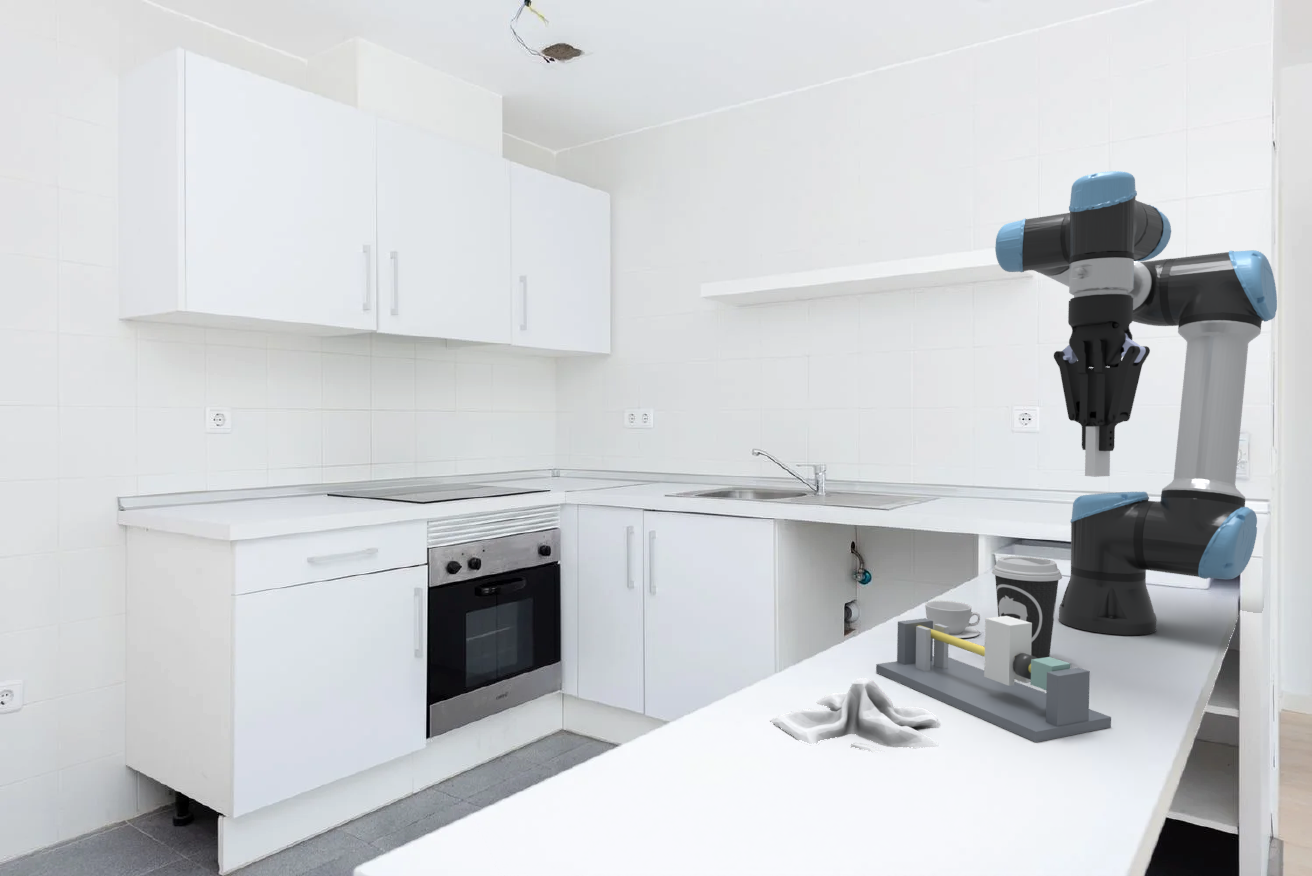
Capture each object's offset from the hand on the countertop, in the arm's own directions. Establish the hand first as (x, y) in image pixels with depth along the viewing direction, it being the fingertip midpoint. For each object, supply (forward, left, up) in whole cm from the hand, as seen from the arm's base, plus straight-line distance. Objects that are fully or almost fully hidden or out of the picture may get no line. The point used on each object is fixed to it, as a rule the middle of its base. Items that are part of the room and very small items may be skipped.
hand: (1097, 475), depth 114 cm
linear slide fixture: (+15, -4, -29) cm, 33 cm away
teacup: (-5, -32, -29) cm, 43 cm away
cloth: (+35, -1, -30) cm, 46 cm away
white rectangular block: (+15, 0, -25) cm, 29 cm away
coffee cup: (-3, -14, -29) cm, 32 cm away
